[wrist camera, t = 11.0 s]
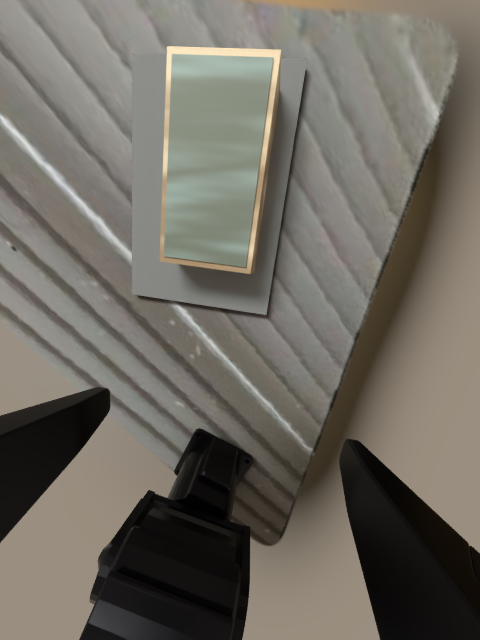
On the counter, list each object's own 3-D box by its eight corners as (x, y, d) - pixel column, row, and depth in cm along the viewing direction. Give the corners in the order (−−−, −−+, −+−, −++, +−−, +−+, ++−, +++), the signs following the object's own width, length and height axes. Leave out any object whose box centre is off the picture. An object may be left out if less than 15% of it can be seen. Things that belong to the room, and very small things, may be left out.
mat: (266, 313, 20) (266, 315, 19) (134, 293, 21) (131, 294, 20) (306, 63, 15) (307, 58, 15) (135, 58, 16) (132, 53, 16)
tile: (250, 274, 15) (281, 48, 12) (158, 261, 16) (166, 44, 13) (254, 272, 18) (280, 89, 15) (176, 261, 19) (186, 84, 16)
